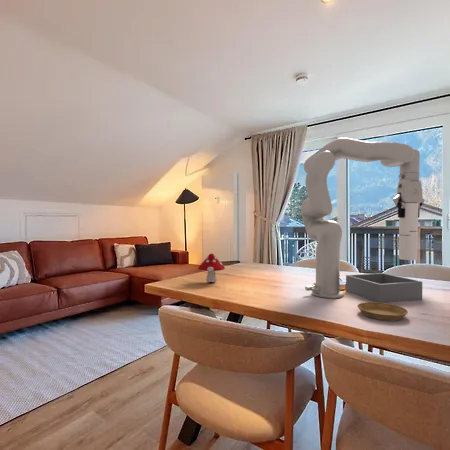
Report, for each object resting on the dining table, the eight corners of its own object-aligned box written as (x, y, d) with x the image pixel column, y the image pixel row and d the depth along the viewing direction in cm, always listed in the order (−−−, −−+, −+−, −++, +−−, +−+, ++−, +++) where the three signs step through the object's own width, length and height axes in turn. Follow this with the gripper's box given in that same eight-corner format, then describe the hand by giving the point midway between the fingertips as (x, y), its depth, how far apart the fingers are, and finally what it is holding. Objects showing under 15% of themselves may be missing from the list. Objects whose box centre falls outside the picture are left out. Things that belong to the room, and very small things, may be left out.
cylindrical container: (420, 260, 127) (421, 203, 126) (402, 259, 128) (403, 203, 128) (413, 258, 134) (414, 204, 134) (396, 258, 135) (397, 204, 135)
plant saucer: (348, 310, 103) (348, 303, 102) (383, 307, 106) (383, 300, 106) (379, 325, 88) (379, 316, 88) (419, 321, 91) (419, 313, 91)
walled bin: (379, 302, 111) (379, 284, 111) (346, 290, 130) (346, 275, 130) (422, 299, 116) (422, 281, 116) (383, 288, 135) (383, 273, 135)
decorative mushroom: (222, 286, 140) (222, 255, 140) (194, 285, 142) (194, 254, 142) (226, 280, 154) (226, 252, 154) (201, 279, 156) (201, 251, 156)
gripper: (400, 175, 125) (399, 217, 125) (432, 177, 129) (431, 217, 129) (386, 178, 132) (385, 217, 132) (417, 179, 136) (417, 217, 137)
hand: (408, 217), depth 131 cm, fingers closed on cylindrical container, 7 cm apart
